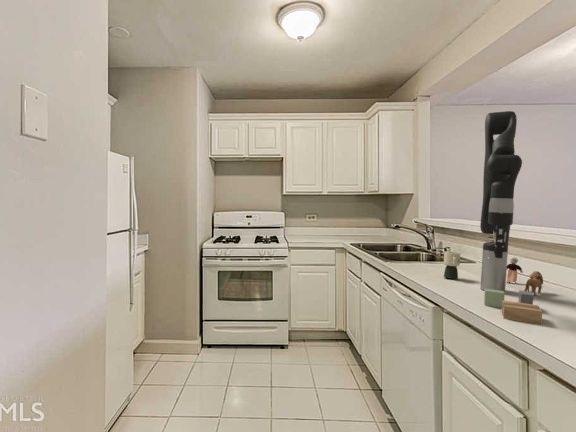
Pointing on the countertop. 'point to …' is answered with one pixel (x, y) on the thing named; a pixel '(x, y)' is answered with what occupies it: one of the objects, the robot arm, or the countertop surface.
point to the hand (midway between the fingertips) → (498, 256)
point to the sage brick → (493, 298)
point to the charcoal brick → (525, 297)
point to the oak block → (521, 312)
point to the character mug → (451, 264)
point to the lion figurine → (534, 282)
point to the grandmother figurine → (513, 270)
